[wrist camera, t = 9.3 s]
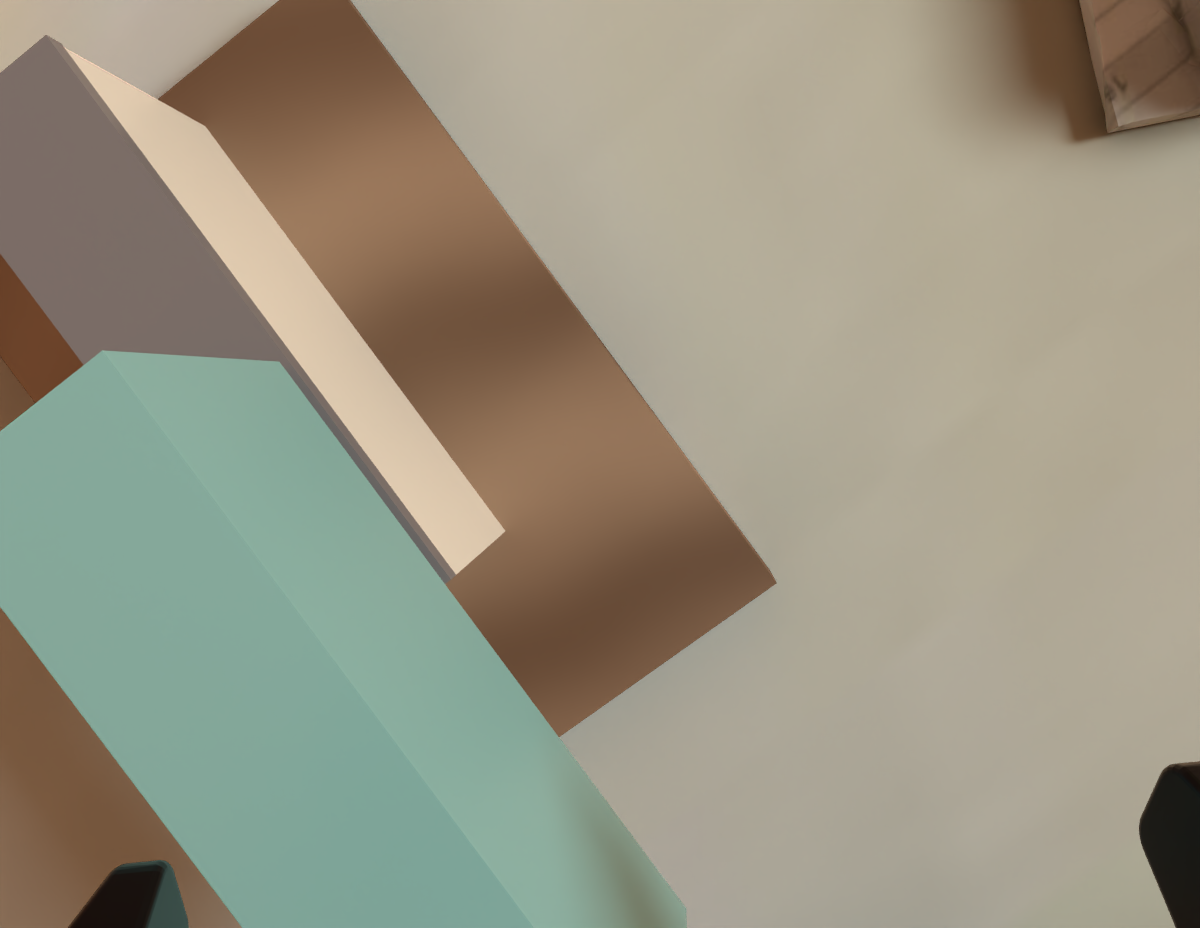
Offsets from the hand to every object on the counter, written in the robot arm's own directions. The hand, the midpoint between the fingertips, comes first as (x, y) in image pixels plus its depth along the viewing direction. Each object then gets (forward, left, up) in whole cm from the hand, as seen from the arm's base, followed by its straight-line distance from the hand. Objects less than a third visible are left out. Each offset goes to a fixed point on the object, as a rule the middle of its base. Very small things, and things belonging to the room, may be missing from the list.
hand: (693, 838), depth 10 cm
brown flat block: (+5, +5, -13) cm, 15 cm away
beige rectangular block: (+6, +6, -12) cm, 15 cm away
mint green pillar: (+1, +4, -6) cm, 7 cm away
